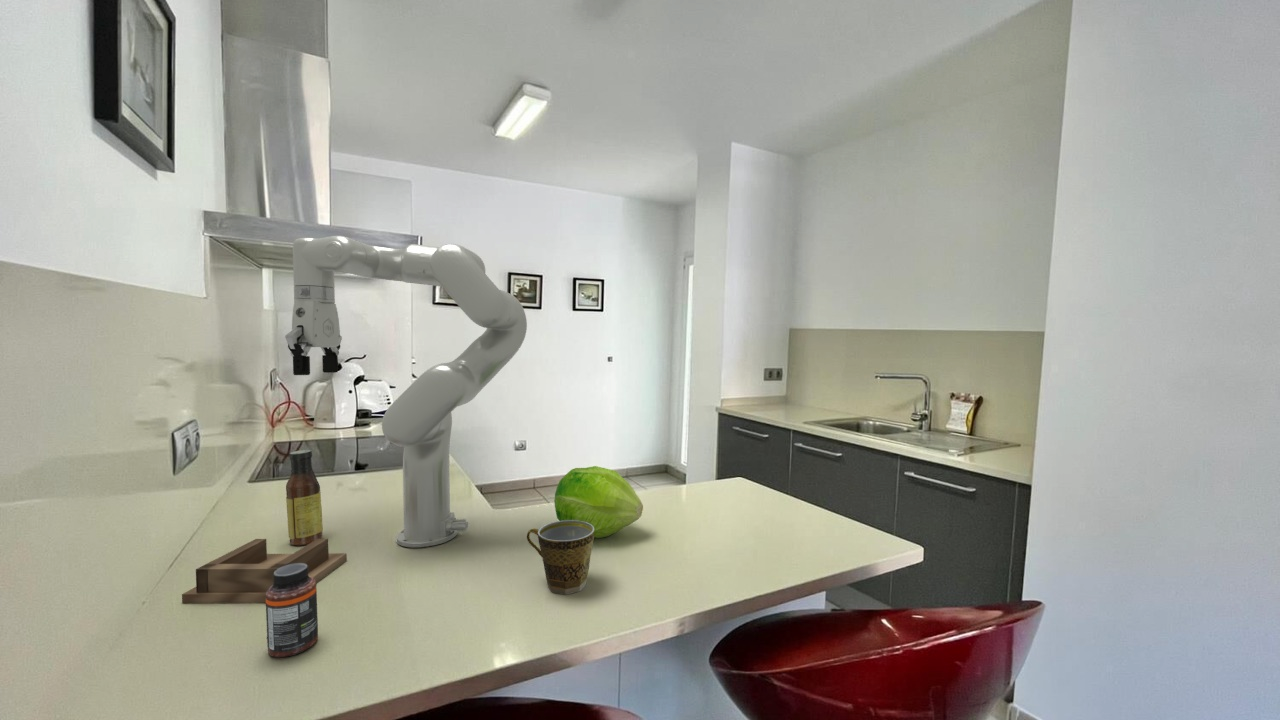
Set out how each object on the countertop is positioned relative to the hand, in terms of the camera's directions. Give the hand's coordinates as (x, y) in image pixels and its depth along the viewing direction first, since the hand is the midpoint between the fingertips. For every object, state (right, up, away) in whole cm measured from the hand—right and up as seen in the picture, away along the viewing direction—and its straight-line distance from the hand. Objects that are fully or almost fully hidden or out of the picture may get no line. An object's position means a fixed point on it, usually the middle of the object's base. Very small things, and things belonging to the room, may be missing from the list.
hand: (316, 373), depth 109 cm
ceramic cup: (+57, -37, -21) cm, 71 cm away
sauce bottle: (-2, -37, -1) cm, 37 cm away
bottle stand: (+4, -37, -19) cm, 42 cm away
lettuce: (+62, -37, +2) cm, 72 cm away
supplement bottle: (+22, -38, -39) cm, 59 cm away
